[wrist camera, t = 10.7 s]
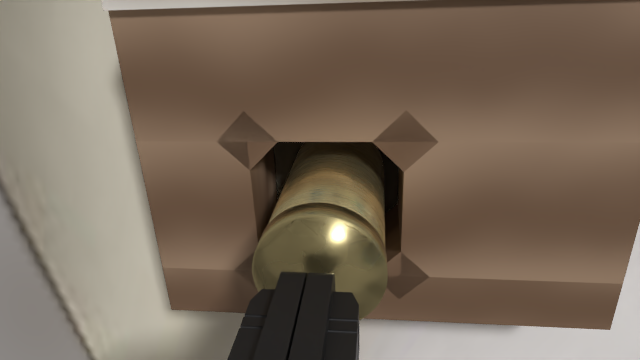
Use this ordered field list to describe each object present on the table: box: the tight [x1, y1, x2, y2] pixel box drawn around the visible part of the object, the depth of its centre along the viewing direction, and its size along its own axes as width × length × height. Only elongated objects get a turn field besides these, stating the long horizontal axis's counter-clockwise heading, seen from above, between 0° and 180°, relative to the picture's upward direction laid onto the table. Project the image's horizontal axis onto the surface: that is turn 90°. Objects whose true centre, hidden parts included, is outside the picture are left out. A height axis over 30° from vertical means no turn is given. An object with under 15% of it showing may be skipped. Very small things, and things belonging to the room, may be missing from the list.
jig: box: [101, 0, 640, 330], centre depth 19 cm, size 13×18×4 cm
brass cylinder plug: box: [252, 142, 388, 320], centre depth 18 cm, size 4×4×8 cm
